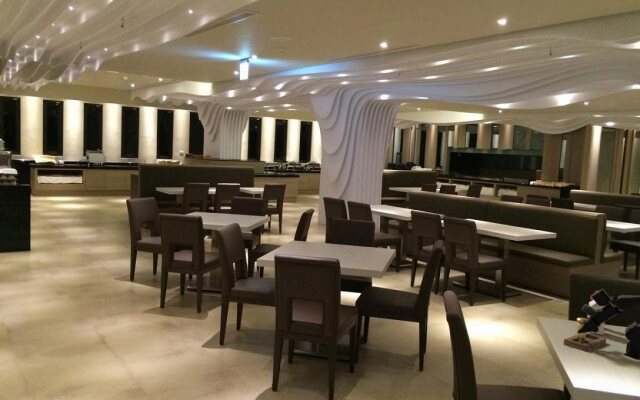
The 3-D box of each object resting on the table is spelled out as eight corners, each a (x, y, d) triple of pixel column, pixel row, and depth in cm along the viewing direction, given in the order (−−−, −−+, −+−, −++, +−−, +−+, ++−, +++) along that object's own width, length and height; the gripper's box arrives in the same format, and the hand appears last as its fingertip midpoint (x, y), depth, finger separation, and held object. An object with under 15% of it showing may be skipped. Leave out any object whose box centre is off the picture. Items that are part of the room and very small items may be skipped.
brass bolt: (587, 347, 266) (590, 320, 265) (580, 348, 264) (583, 321, 263) (579, 343, 270) (581, 317, 269) (572, 344, 268) (574, 318, 267)
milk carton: (588, 333, 288) (592, 298, 287) (586, 329, 295) (589, 295, 293) (603, 335, 286) (607, 300, 285) (600, 331, 293) (604, 296, 291)
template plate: (584, 336, 282) (584, 331, 282) (605, 343, 273) (606, 338, 273) (563, 344, 268) (564, 339, 268) (586, 351, 259) (586, 346, 259)
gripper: (594, 296, 271) (567, 313, 277) (593, 304, 255) (565, 322, 261) (610, 314, 268) (583, 331, 275) (610, 323, 252) (581, 341, 258)
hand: (578, 331), depth 267 cm, fingers open, 5 cm apart
